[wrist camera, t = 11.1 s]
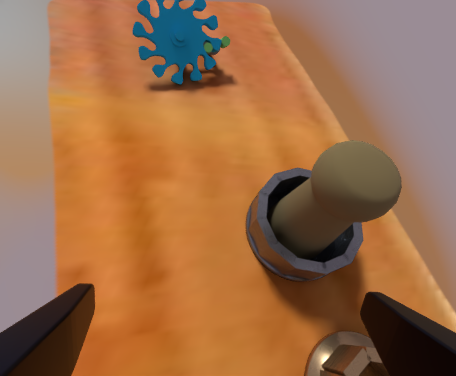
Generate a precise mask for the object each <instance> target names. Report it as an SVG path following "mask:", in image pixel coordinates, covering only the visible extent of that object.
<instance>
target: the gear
mask: <svg viewBox="0 0 456 376" xmlns="http://www.w3.org/2000/svg"><path fill="white" fill-rule="evenodd" d="M156 1H157V3H158V6H159V17H158V18H154V17H152V16H151V14H150V4H149V2H148V1H147V0H143V1H141V2H140V3H139V4H138V5H137V9H138V12H139V13H140V14H141V15H143V16H144V17H146V18H147V19H148V20H149V22H150V23H151V25H152V27H153V30H154V31H153V33H147V32H146V31H145V29H144V27H143V25H142V24H141V23H139V22H135V24H134V27H133V35H134V36H136V37H144V38H147V39H149V40H150V41H152V42H153V43H154V44H155V45H156V50H154V51H151V50H149V49H148V48H147V47H145V46H140V47H139V55H140V58H141V60H147V59H148V58H149V57H152V56H161V57H163V58H164V59H165V61H166V63H165V65H155V66H154V67H153V68H152V70H153V72H154V74H155V75H156V76H157V77H158V78H159V77H161V76H162V75H163V74H164V71H165V69H166V68H167V67H169V66H171V65H173V64H176V65H178V67H179V72H178V73H175V74H174V75H173V76H172V78H171V81H172V82H174V83H176V84H179V85H180V84H182V82H183V70H184V68H185V66H186V65H187V64H191V65H192V66H193V71H192V73H191V74H190V79H191V81H198V80H201V79H202V75H201V73H200V71H199V69H198V65H197V58H198V56H199V55H201V56H203V58H204V67H205V69H206V70H209V69H211V68H213V67H214V66H215V65H216V62H215V60H214V59H213V58H211V57H210V56H209V55H215V54H217V53H218V52H219V50H220V47H221V48H225V47H227V46H228V45H229V44H230V39H229V38H228V37H227V36H225V37H223V38H222V39H219V38H211V37H209V36H207V35H206V34H205V33H204V32H203V31H202V25H205V26H207V27H208V28H209V29H210V30H215V29H216V28H217V27H218V22H217V17H216V16H214V15H213V16H211V17H209V18H207V19H197V18H195V17H194V16H193V11H195V10H196V11H203V10H204V9H205V7H206V2H205V0H195V1H194V4H193V5H192V6H191V7H189V8H187V9H181V8H180V6H179V2H180V1H183V0H175V2H174V4H173V6H172V8H170V9H166V8H165V7H164V6H163V2H164V0H156Z"/></svg>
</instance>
